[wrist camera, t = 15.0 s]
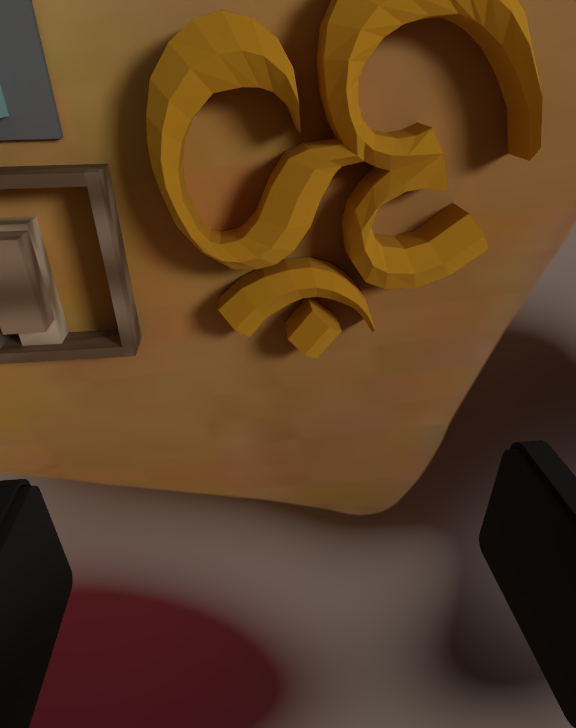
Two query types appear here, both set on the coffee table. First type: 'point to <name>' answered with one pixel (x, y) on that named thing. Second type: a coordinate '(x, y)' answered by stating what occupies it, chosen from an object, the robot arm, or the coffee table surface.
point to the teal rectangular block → (3, 105)
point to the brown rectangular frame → (113, 257)
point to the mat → (25, 76)
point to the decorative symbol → (331, 157)
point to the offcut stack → (28, 285)
